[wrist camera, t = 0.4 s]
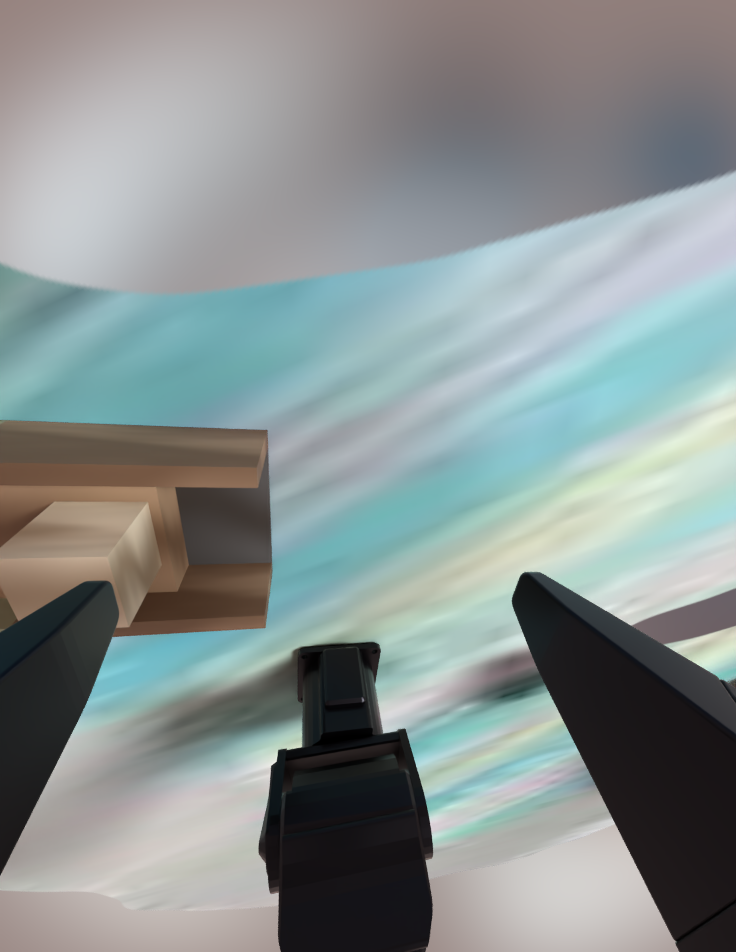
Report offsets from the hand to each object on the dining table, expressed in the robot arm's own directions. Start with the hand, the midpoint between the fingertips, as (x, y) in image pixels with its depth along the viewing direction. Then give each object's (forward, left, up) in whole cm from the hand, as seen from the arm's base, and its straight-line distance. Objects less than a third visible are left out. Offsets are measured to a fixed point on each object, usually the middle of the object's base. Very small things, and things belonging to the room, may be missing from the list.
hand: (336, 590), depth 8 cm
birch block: (-6, +10, -10) cm, 16 cm away
